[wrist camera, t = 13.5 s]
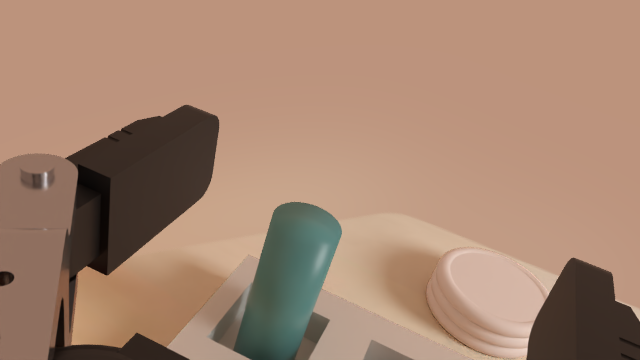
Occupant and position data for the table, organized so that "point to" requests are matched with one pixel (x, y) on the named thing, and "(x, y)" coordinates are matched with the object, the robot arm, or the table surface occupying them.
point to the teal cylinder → (287, 281)
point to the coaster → (485, 300)
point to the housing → (321, 333)
